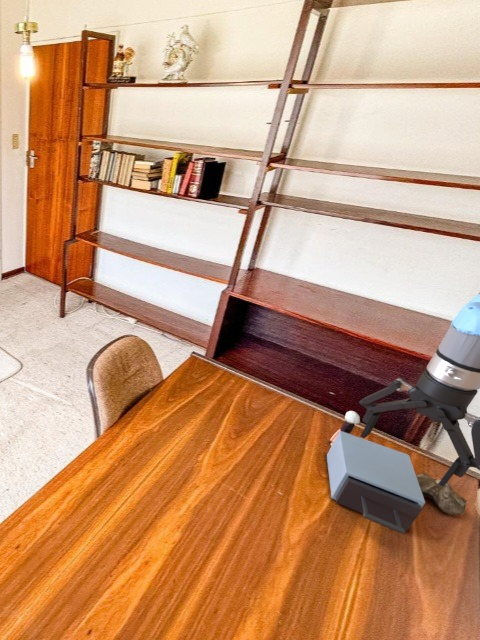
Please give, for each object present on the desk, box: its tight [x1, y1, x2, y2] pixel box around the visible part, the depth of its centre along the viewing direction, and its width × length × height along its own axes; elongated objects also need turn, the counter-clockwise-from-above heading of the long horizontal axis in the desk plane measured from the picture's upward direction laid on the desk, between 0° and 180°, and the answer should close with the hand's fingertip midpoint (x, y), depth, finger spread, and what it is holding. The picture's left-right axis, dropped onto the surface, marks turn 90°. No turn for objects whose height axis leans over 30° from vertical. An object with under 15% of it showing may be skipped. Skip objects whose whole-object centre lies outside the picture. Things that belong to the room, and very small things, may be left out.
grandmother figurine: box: [329, 410, 361, 447], centre depth 112 cm, size 8×4×13 cm, turn 130°
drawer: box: [335, 476, 423, 535], centre depth 96 cm, size 21×13×8 cm, turn 149°
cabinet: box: [326, 431, 426, 509], centre depth 100 cm, size 16×15×10 cm
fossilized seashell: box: [416, 471, 468, 516], centre depth 99 cm, size 8×7×10 cm
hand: (401, 457), depth 85 cm, fingers open, 13 cm apart
